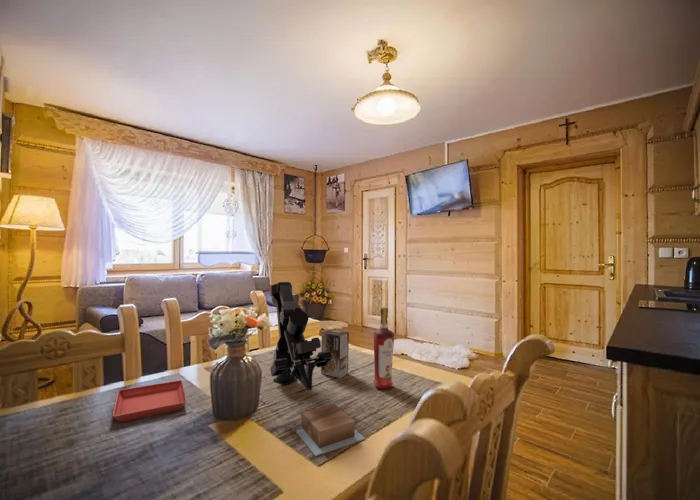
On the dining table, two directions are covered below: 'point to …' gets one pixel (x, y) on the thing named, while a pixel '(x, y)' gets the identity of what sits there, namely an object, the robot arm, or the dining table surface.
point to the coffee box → (335, 352)
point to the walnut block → (327, 425)
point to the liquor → (383, 353)
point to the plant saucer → (149, 400)
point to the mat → (319, 451)
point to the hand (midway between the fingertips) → (310, 390)
